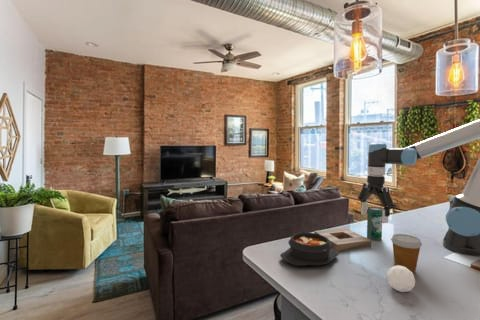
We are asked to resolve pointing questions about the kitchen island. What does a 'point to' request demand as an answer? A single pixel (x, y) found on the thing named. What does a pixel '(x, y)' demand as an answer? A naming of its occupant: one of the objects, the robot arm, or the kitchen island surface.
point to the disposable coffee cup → (406, 250)
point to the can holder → (349, 241)
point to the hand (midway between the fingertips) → (373, 218)
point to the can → (374, 223)
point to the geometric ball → (400, 278)
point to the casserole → (309, 250)
